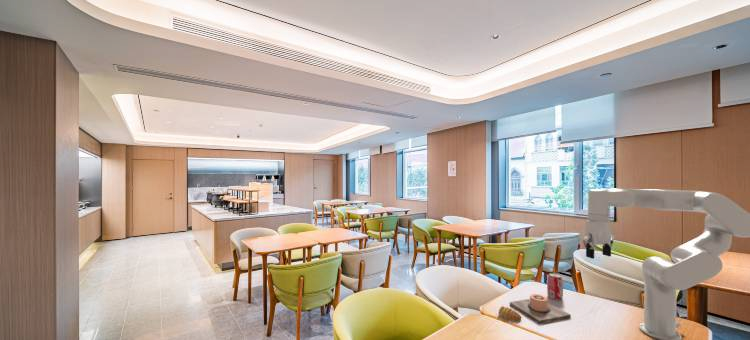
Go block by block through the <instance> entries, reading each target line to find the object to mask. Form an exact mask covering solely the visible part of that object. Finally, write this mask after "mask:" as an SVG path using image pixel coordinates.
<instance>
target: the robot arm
mask: <svg viewBox="0 0 750 340" xmlns="http://www.w3.org/2000/svg"><path fill="white" fill-rule="evenodd" d="M587 193H588V194H587V199H588V200H587V203H588V204H587V205H588V206H587V220H586V224H585V229H584V230H585V231H584V236H583V238H582V243H583V245H584V248H585V257H586V258H589V259H592V260H593V259H595V249H594V248H595V247H596V245H602V255H603V256H606V257H612V247H613V244H614V240H615V235H612V227H611V218H610V217H611V207H615V208H621V209H627V208H631V207H641V208H646V209H652V210H656V211H657V210H658V211H671V212H672V211H673V212H675V211H676V212H691V213H692V212H695V213H696V212H697V213H701V214H702V213H703V214H706V216H705V218H704V230H703V232H702V233H701V234H700V235H698V236H696V237H695V238H693V239H691V240H689V241H687V242H685V243H683V244H680V245H679V246H678V245H677V246H676V247H675V248H673V249H672V250H671V252H670V258H671V260H672V261H671V260H669V259H667V258H664V257H660V256H649V257H647V258H645V259H644V260H643V262H642V264H641V271H642V276H643V285H644V286H643V287H644V289H643V290H644V293H643V298H644V299H643V300H644V301H643V322H640V323H639V324H638V327H639V330H640V331H641V332H643V334H646V335H648V336H650V337H652V338H655V339H657V340H682V335H681V333H679V332H678V331H677V328H678V329H679V328H681V327H682V324H681V323H680V322H679V321H677V297H678V296H677V295H678V294H677V291H683V290H686V289H687V290H688V289H690V288H692V287H694V286H697V285H699V284H701V283H703V282H705V281H709V280H710V279H712V278H715V277H717V275H719V274H720V273H721V271H722V270H723V261H722V259H721V258H720V256H721V255H723V254H725V253H727V252H728V251H729V250H730V248H731V246H732V240H733V236H734V237H736V238H737V237H738V238H746V239H747V238H750V213H749V212H748V211H746V210H745V209H744V208H742V207H741V206H740V205H738V204H737V203H736V202H734V201H733V200H732V199H730V198H729V197H727V196H725V195H723V194H721V193H718V192H711V191H704V190H703V191H702V190H682V189H681V190H680V189H655V188H654V189H652V188H651V189H645V188H644V189H641V188H640V189H639V188H618V187H617V188H616V187H615V188H613V187H612V188H609V189H600V188H599V189H597V188H596V189H590V190H589V191H588V192H587Z"/></svg>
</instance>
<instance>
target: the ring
mask: <svg viewBox="0 0 750 340" xmlns="http://www.w3.org/2000/svg"><path fill="white" fill-rule="evenodd" d="M529 297H530V298H529V299H530V306H531V308H533V309H534V310H537V311H543V312H544V311H547V310H548V303H549V302H548V298H547V297H546V296H544V295H543V294H537V293H536V294H535V293H533V294H530V296H529ZM536 297H541V298H542V300H540V299H536Z"/></svg>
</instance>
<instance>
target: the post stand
mask: <svg viewBox="0 0 750 340" xmlns="http://www.w3.org/2000/svg"><path fill="white" fill-rule="evenodd" d="M536 299H540V300H542V298H541V297H536ZM509 306H510V307H512V308H514V309H516V310H517V311H519V312H520V313H522V315H525V316H526V317H528V318H529V319H531V320H532V321H534V322H535V323H537V324H538V325H541V324H547V323H552V322H556V321H561V320H567V319H570V318H571V316H572V315H571V314H570V313H569V312H567V311H565V310H564V309H561V308H559V307H557V306H556V305H554V304H552V303H550V302H548V310H547V311H544V312H543V311H537V310H534V309H533V308H531V306H530V298H527V299H521V300H520V299H519V300H515V301H510V302H509Z"/></svg>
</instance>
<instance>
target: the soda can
mask: <svg viewBox="0 0 750 340" xmlns="http://www.w3.org/2000/svg"><path fill="white" fill-rule="evenodd" d="M546 283H547V284H546V285H547V286H546V288H547V291H546V292H547V296H548V297H549V298H550V299H553V300H561V299H563V297H564V296H563V295H564V279H563V277H562V275H561V274H559V273H555V272H550V273H548V275H547V281H546Z"/></svg>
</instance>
